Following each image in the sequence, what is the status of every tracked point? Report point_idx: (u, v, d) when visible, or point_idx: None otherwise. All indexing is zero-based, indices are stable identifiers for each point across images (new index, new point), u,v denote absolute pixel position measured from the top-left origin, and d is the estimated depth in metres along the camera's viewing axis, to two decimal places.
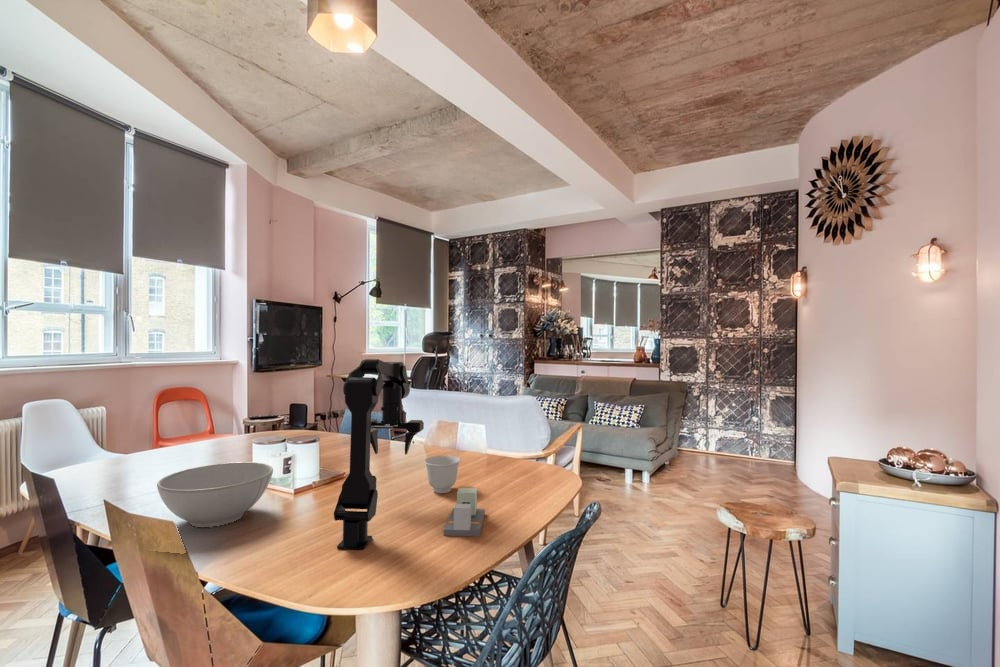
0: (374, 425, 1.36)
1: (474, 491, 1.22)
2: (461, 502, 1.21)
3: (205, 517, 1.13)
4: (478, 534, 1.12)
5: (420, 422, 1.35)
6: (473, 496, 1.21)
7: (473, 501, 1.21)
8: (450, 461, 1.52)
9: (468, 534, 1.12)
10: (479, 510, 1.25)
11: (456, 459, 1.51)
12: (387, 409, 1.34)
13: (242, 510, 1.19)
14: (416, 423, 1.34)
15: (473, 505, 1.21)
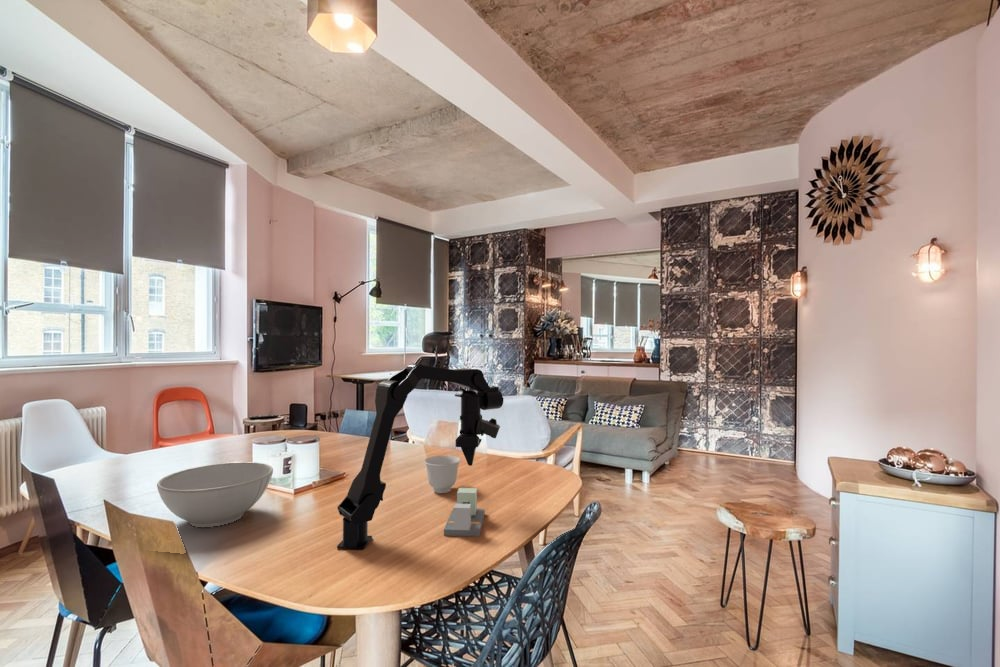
0: None
1: (474, 491, 1.22)
2: (461, 502, 1.21)
3: (205, 517, 1.13)
4: (478, 534, 1.12)
5: (464, 437, 1.21)
6: (473, 496, 1.21)
7: (473, 501, 1.21)
8: (450, 461, 1.52)
9: (468, 534, 1.12)
10: (479, 510, 1.25)
11: (456, 459, 1.51)
12: None
13: (242, 510, 1.19)
14: (458, 437, 1.22)
15: (473, 505, 1.21)
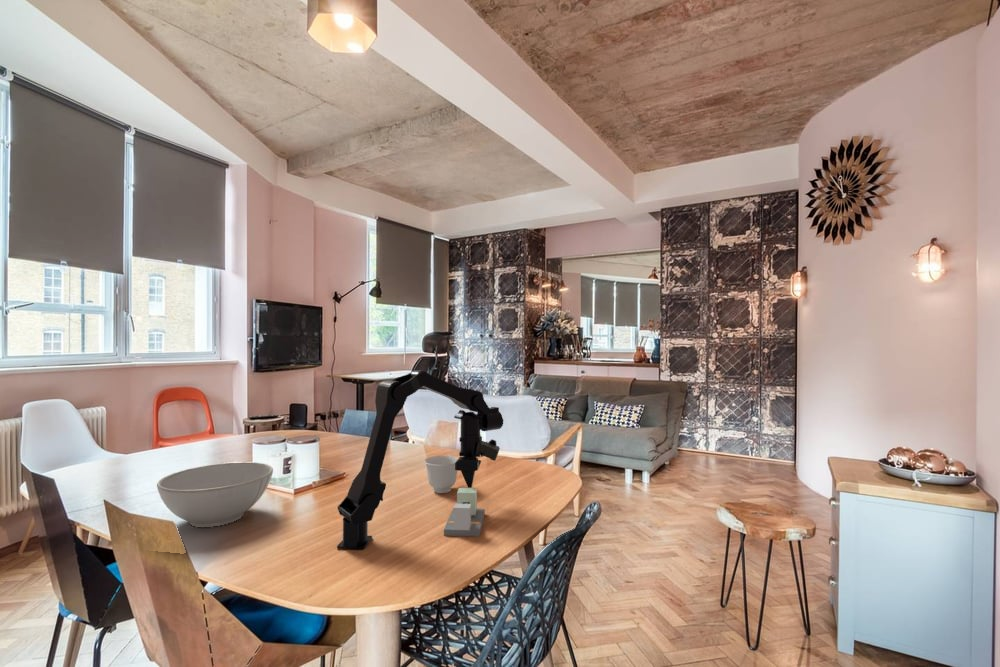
0: None
1: (474, 491, 1.22)
2: (461, 502, 1.21)
3: (205, 517, 1.13)
4: (478, 534, 1.12)
5: (464, 461, 1.21)
6: (473, 496, 1.21)
7: (473, 501, 1.21)
8: (450, 461, 1.52)
9: (468, 534, 1.12)
10: (479, 510, 1.25)
11: (456, 459, 1.51)
12: None
13: (242, 510, 1.19)
14: (457, 460, 1.22)
15: (473, 505, 1.21)
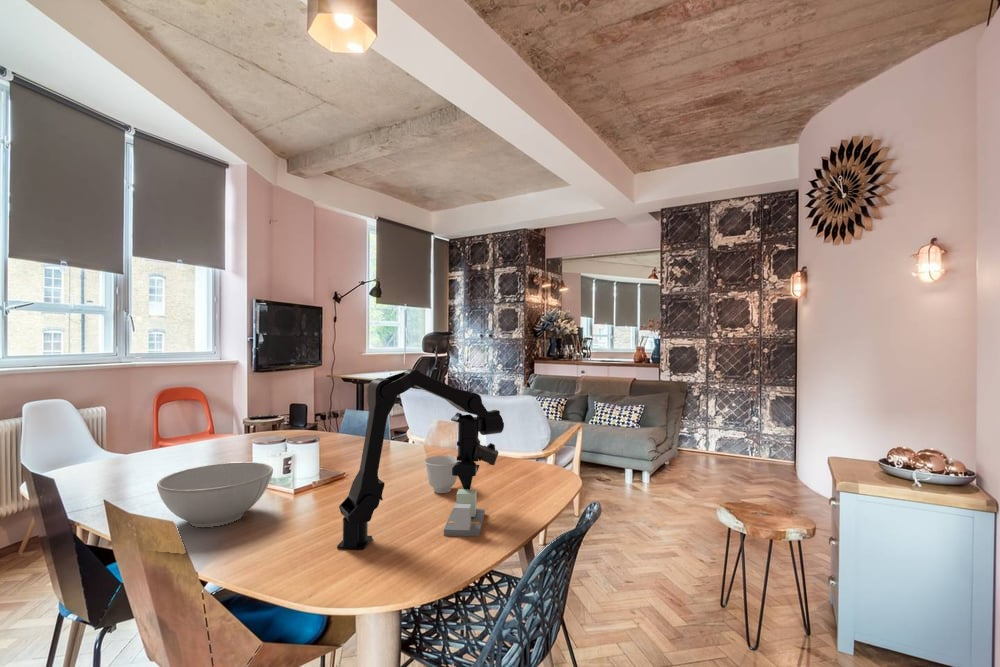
0: None
1: (474, 492, 1.21)
2: (460, 503, 1.20)
3: (205, 517, 1.13)
4: (478, 534, 1.12)
5: (461, 466, 1.16)
6: (473, 497, 1.20)
7: (473, 502, 1.20)
8: (450, 461, 1.52)
9: (468, 534, 1.12)
10: (479, 510, 1.25)
11: (456, 459, 1.51)
12: None
13: (242, 510, 1.19)
14: (455, 465, 1.17)
15: (473, 506, 1.20)
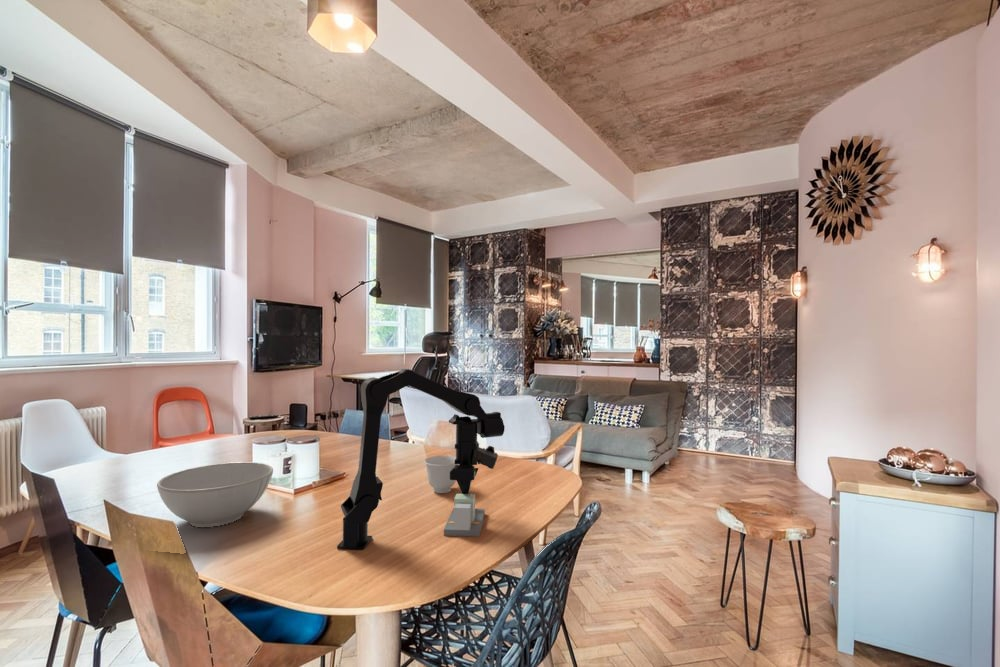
0: None
1: (472, 497, 1.17)
2: None
3: (205, 517, 1.13)
4: (478, 534, 1.12)
5: (459, 470, 1.12)
6: (471, 502, 1.16)
7: (471, 508, 1.16)
8: (450, 461, 1.52)
9: (468, 534, 1.12)
10: (479, 510, 1.25)
11: None
12: None
13: (242, 510, 1.19)
14: (452, 469, 1.13)
15: (471, 512, 1.16)
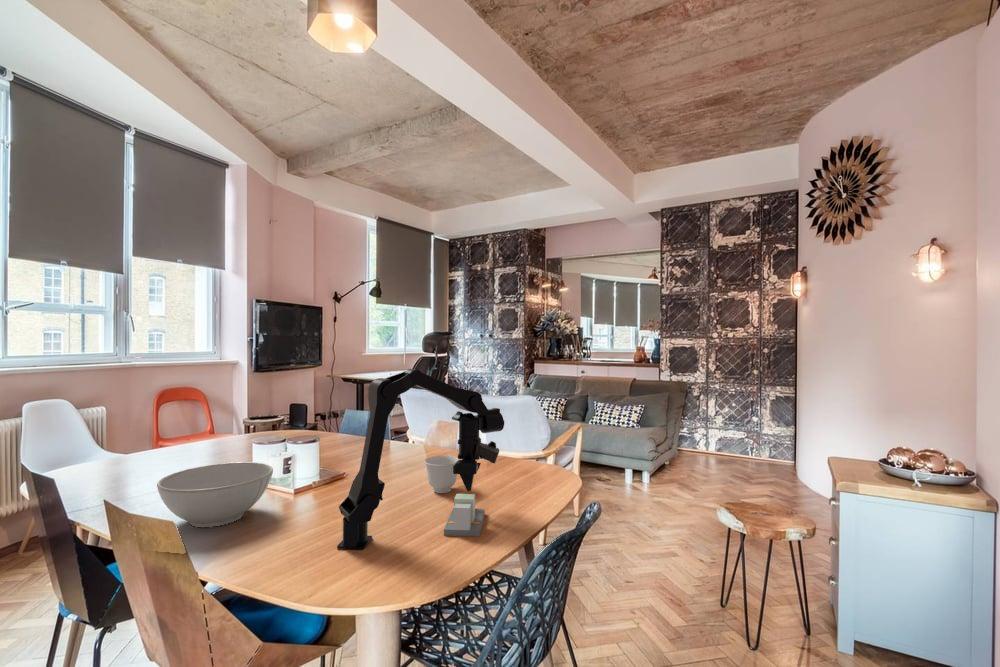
0: None
1: (472, 497, 1.17)
2: None
3: (205, 517, 1.13)
4: (478, 534, 1.12)
5: (462, 464, 1.17)
6: (471, 502, 1.16)
7: (471, 508, 1.16)
8: (450, 461, 1.52)
9: (468, 534, 1.12)
10: (479, 510, 1.25)
11: (456, 459, 1.51)
12: None
13: (242, 510, 1.19)
14: (455, 463, 1.18)
15: (471, 512, 1.16)
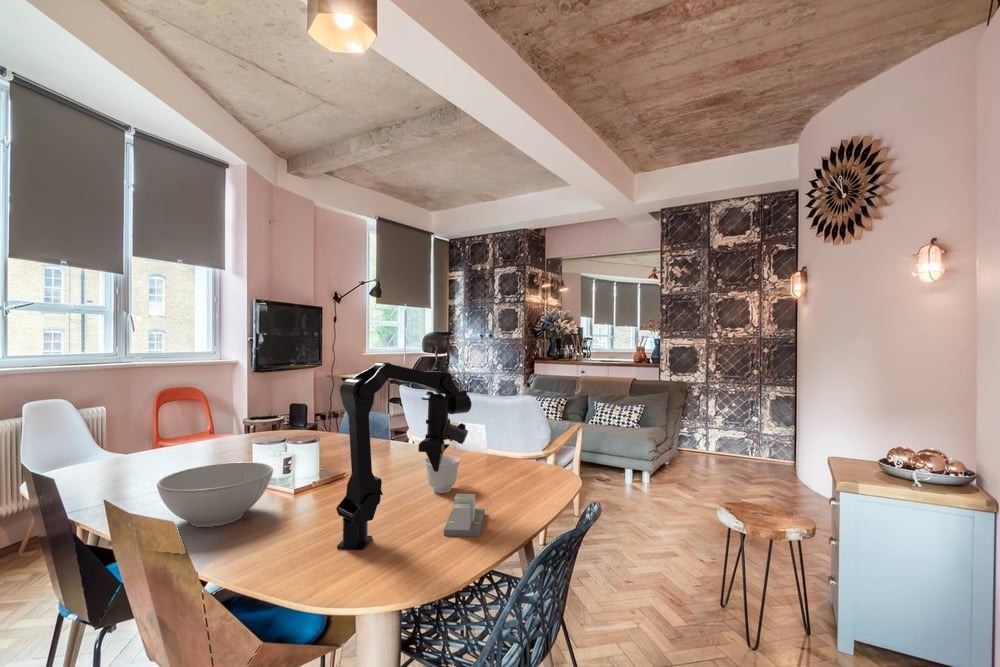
0: None
1: (472, 497, 1.17)
2: None
3: (205, 517, 1.13)
4: (478, 534, 1.12)
5: (428, 442, 1.17)
6: (471, 502, 1.16)
7: (471, 508, 1.16)
8: (450, 461, 1.52)
9: (468, 534, 1.12)
10: (479, 510, 1.25)
11: (456, 459, 1.51)
12: None
13: (242, 510, 1.19)
14: None
15: (471, 512, 1.16)
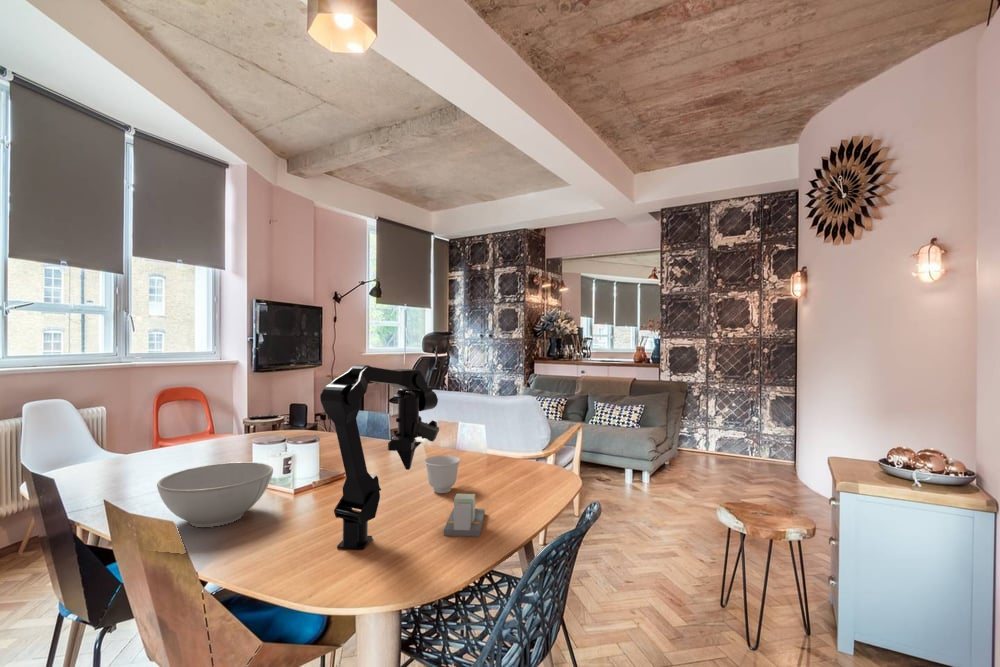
0: None
1: (472, 497, 1.17)
2: None
3: (205, 517, 1.13)
4: (478, 534, 1.12)
5: (397, 441, 1.17)
6: (471, 502, 1.16)
7: (471, 508, 1.16)
8: (450, 461, 1.52)
9: (468, 534, 1.12)
10: (479, 510, 1.25)
11: (456, 459, 1.51)
12: None
13: (242, 510, 1.19)
14: (391, 440, 1.18)
15: (471, 512, 1.16)
